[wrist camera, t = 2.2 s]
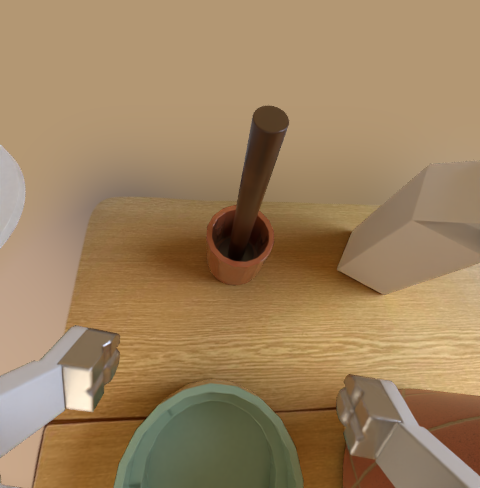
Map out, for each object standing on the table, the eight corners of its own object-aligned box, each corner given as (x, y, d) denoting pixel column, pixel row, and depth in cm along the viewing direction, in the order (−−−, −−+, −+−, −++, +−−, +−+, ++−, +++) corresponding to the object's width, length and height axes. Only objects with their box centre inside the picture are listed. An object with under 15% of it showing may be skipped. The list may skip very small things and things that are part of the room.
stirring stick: (211, 264, 34) (213, 130, 14) (226, 235, 36) (249, 77, 16) (243, 280, 34) (296, 165, 13) (257, 249, 36) (322, 108, 15)
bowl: (97, 519, 25) (65, 566, 19) (180, 354, 31) (174, 354, 25) (249, 604, 24) (261, 679, 18) (304, 416, 30) (326, 430, 24)
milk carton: (335, 270, 37) (450, 194, 19) (352, 230, 39) (465, 131, 22) (383, 296, 36) (547, 241, 19) (396, 253, 39) (551, 170, 21)
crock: (197, 270, 35) (194, 248, 27) (221, 226, 37) (224, 195, 30) (248, 294, 34) (258, 278, 27) (268, 247, 37) (283, 221, 30)
